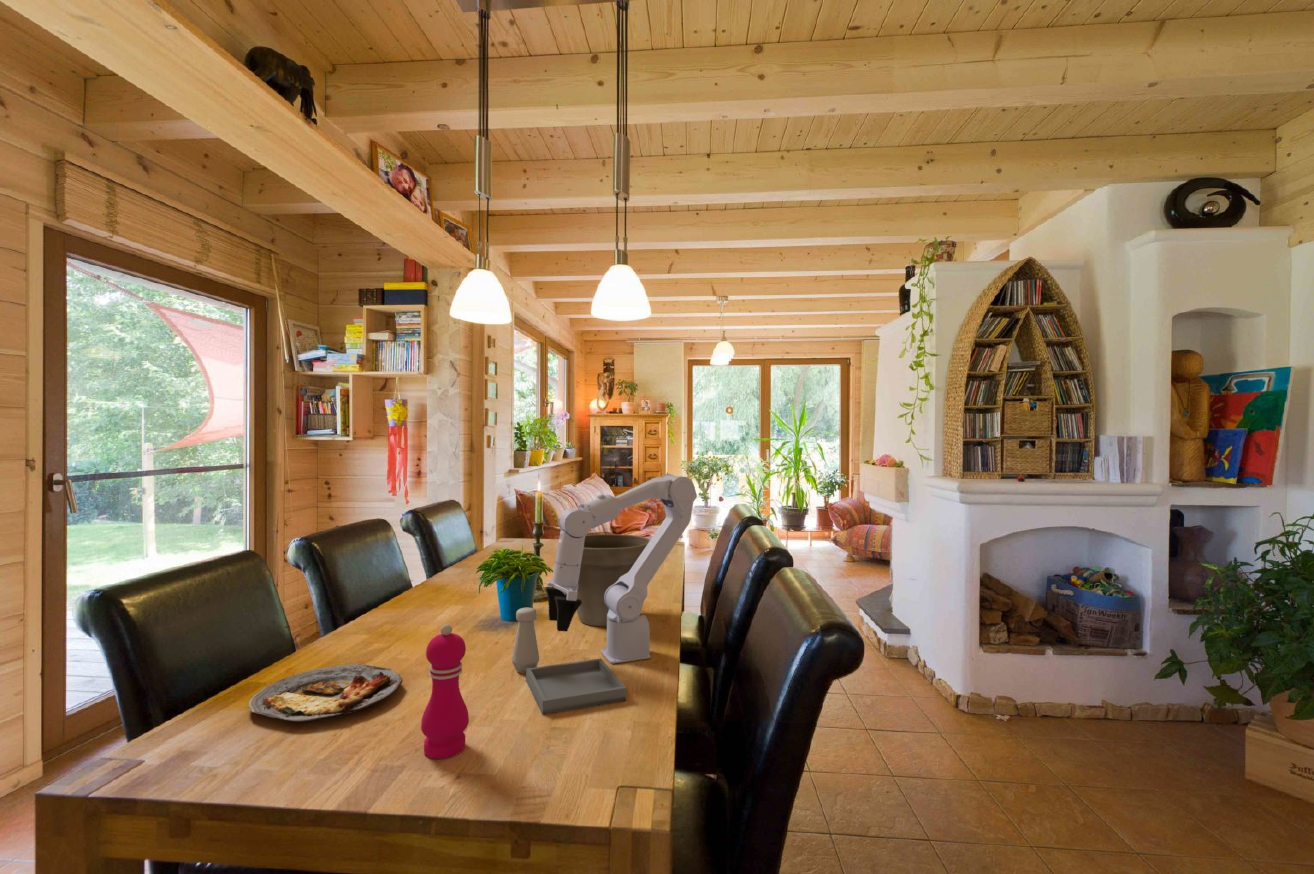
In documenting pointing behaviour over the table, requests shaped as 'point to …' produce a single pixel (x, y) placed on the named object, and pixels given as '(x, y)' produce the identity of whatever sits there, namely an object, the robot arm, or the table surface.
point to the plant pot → (604, 571)
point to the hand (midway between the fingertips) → (557, 625)
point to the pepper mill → (445, 697)
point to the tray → (574, 686)
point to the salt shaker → (525, 641)
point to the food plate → (325, 692)
